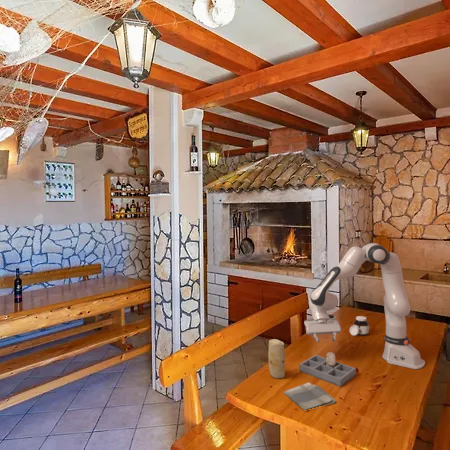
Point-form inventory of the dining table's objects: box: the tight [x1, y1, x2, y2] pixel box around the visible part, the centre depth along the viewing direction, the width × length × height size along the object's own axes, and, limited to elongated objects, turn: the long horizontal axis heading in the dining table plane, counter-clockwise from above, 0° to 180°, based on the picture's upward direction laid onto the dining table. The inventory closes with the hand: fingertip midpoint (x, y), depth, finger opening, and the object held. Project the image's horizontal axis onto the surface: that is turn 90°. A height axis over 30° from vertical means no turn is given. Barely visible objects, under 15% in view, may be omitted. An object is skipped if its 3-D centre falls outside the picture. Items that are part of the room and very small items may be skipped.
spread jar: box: [348, 315, 370, 337], centre depth 253 cm, size 12×11×12 cm
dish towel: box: [283, 381, 337, 411], centre depth 174 cm, size 19×18×3 cm
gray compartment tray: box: [298, 354, 357, 388], centre depth 198 cm, size 25×17×4 cm
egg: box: [325, 351, 336, 368], centre depth 201 cm, size 5×5×10 cm
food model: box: [267, 338, 286, 379], centre depth 196 cm, size 10×7×20 cm
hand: (326, 340), depth 208 cm, fingers open, 8 cm apart
